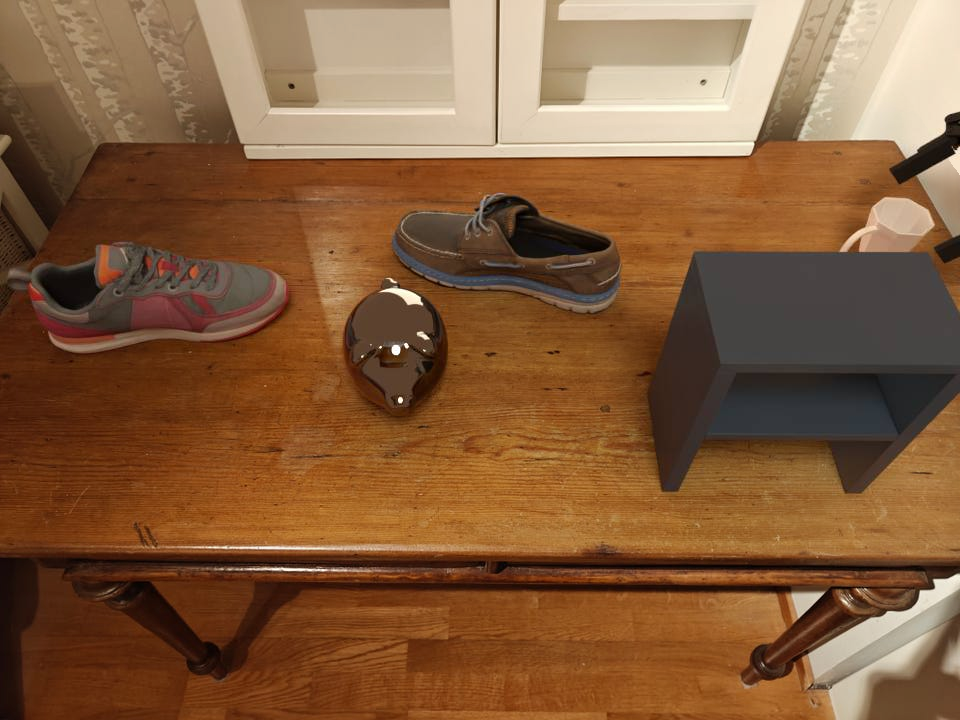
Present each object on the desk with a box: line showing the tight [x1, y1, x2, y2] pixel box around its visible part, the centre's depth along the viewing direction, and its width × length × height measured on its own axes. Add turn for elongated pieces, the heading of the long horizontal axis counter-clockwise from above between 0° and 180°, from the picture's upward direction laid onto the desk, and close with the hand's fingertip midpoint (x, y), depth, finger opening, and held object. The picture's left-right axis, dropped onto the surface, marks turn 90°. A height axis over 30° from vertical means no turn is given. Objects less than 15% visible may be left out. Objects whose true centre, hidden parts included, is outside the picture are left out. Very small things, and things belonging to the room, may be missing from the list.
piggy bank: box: [341, 277, 449, 417], centre depth 74 cm, size 11×15×12 cm
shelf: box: [646, 250, 960, 494], centre depth 65 cm, size 20×12×22 cm, turn 89°
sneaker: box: [6, 240, 290, 355], centre depth 80 cm, size 10×28×12 cm, turn 102°
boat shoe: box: [391, 192, 623, 314], centre depth 85 cm, size 10×29×11 cm, turn 74°
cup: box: [838, 196, 936, 252], centre depth 86 cm, size 7×10×8 cm
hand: (914, 214), depth 82 cm, fingers open, 13 cm apart
